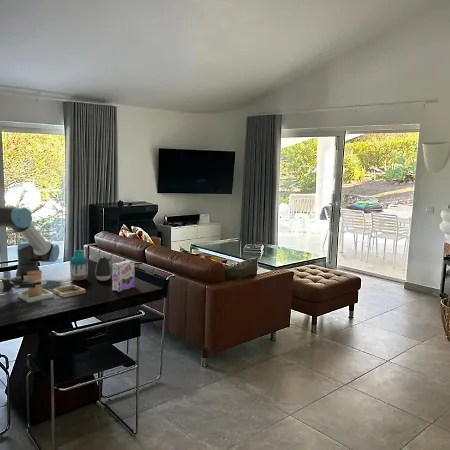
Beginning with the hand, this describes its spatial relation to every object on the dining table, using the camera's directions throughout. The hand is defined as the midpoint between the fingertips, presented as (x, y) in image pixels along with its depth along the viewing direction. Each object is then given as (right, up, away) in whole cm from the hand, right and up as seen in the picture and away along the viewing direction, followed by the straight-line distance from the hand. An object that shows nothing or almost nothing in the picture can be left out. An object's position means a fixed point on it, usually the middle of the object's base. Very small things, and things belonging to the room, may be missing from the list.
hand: (40, 279), depth 254 cm
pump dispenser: (+25, -5, +39) cm, 47 cm away
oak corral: (+13, -9, +9) cm, 18 cm away
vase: (+10, -5, +37) cm, 38 cm away
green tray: (-2, -10, -1) cm, 11 cm away
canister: (-2, -9, -1) cm, 10 cm away
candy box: (+42, -8, +20) cm, 47 cm away
